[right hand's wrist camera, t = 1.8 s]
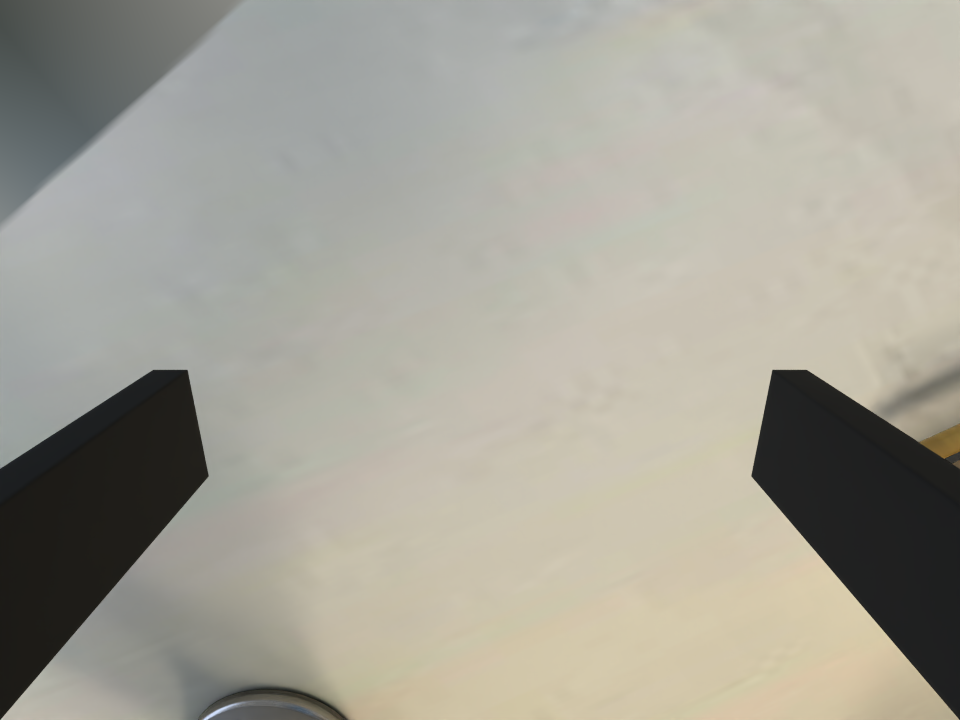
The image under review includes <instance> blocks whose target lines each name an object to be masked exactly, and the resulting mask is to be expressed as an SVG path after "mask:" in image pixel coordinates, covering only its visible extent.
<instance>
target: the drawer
mask: <svg viewBox="0 0 960 720" xmlns="http://www.w3.org/2000/svg"><path fill="white" fill-rule="evenodd" d="M919 443H921V444H922V445H924V446H925V447H927V448H928V449H930V450H931V451H933V452H934V453H936V454H938V455H939V456H941V457H942V458H944V459H945V458H947V457H949V456H951V455H953V454H956V453H958V452H960V424H958V425H956V426H953V427H951V428H949V429H947V430H945V431H943V432H940V433H938V434H936V435H934V436H932V437H930V438H927V439H925V440H923V441H921V442H919ZM953 465H955V466H956V467H958V468H959V469H960V460H959V461H957V462H955V463H953Z"/></svg>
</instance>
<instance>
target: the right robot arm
mask: <svg viewBox="0 0 960 720" xmlns="http://www.w3.org/2000/svg"><path fill="white" fill-rule="evenodd" d="M207 478H208V471H207V466H206V461H205V456H204V451H203V446H202V441H201V435H200V430H199V425H198V420H197V415H196V410H195V405H194V400H193V395H192V390H191V385H190V380H189V375H188V370H152V371H151V372H149V373H148V374H146V375H145V376H143V377H142V378H140V379H139V380H137V381H135V382H134V383H132V384H131V385H129V386H128V387H126V388H125V389H123V390H122V391H120V392H118V393H117V394H115V395H114V396H112V397H111V398H109V399H108V400H106V401H104V402H103V403H101V404H100V405H98V406H97V407H95V408H94V409H92V410H91V411H89V412H87V413H86V414H84V415H83V416H81V417H80V418H78V419H77V420H75V421H74V422H72V423H70V424H69V425H67V426H66V427H64V428H63V429H61V430H60V431H58V432H56V433H55V434H53V435H52V436H50V437H49V438H47V439H46V440H44V441H43V442H41V443H39V444H38V445H36V446H35V447H33V448H32V449H30V450H29V451H27V452H26V453H24V454H22V455H21V456H19V457H18V458H16V459H15V460H13V461H12V462H10V463H9V464H7V465H5V466H4V467H2V468H1V469H0V720H1V718H2V717H3V716H4V715H5V714H6V713H7V711H8V710H9V709H10V708H11V707H12V705H13V704H14V703H15V702H16V701H17V700H18V698H19V697H20V696H21V695H22V694H23V693H24V691H25V690H26V689H27V688H28V687H29V686H30V684H31V683H32V682H33V681H34V680H35V679H36V677H37V676H38V675H39V674H40V673H41V672H42V670H43V669H44V668H45V667H46V666H47V665H48V663H49V662H50V661H51V660H52V659H53V658H54V656H55V655H56V654H57V653H58V652H59V651H60V649H61V648H62V647H63V646H64V645H65V644H66V642H67V641H68V640H69V639H70V638H71V637H72V635H73V634H74V633H75V632H76V631H77V629H78V628H79V627H80V626H81V625H82V624H83V622H84V621H85V620H86V619H87V618H88V617H89V615H90V614H91V613H92V612H93V611H94V610H95V608H96V607H97V606H98V605H99V604H100V603H101V601H102V600H103V599H104V598H105V597H106V596H107V594H108V593H109V592H110V591H111V590H112V589H113V587H114V586H115V585H116V584H117V583H118V582H119V580H120V579H121V578H122V577H123V576H124V575H125V573H126V572H127V571H128V570H129V569H130V568H131V566H132V565H133V564H134V563H135V562H136V561H137V559H138V558H139V557H140V556H141V555H142V554H143V552H144V551H145V550H146V549H147V548H148V546H149V545H150V544H151V543H152V542H153V541H154V539H155V538H156V537H157V536H158V535H159V534H160V532H161V531H162V530H163V529H164V528H165V527H166V525H167V524H168V523H169V522H170V521H171V520H172V518H173V517H174V516H175V515H176V514H177V513H178V511H179V510H180V509H181V508H182V507H183V506H184V504H185V503H186V502H187V501H188V500H189V499H190V497H191V496H192V495H193V494H194V493H195V492H196V490H197V489H198V488H199V487H200V486H201V485H202V483H203V482H204V481H205V480H206V479H207ZM752 478H753V479H754V480H755V481H756V482H757V483H758V485H759V486H760V487H761V488H762V489H763V490H764V492H765V493H766V494H767V495H768V496H769V497H770V499H771V500H772V501H773V502H774V503H775V504H776V506H777V507H778V508H779V509H780V510H781V511H782V513H783V514H784V515H785V516H786V517H787V518H788V520H789V521H790V522H791V523H792V524H793V525H794V527H795V528H796V529H797V530H798V531H799V532H800V534H801V535H802V536H803V537H804V538H805V539H806V541H807V542H808V543H809V544H810V545H811V546H812V548H813V549H814V550H815V551H816V552H817V554H818V555H819V556H820V557H821V558H822V559H823V561H824V562H825V563H826V564H827V565H828V566H829V568H830V569H831V570H832V571H833V572H834V573H835V575H836V576H837V577H838V578H839V579H840V580H841V582H842V583H843V584H844V585H845V586H846V587H847V589H848V590H849V591H850V592H851V593H852V594H853V596H854V597H855V598H856V599H857V600H858V601H859V603H860V604H861V605H862V606H863V607H864V608H865V610H866V611H867V612H868V613H869V614H870V615H871V617H872V618H873V619H874V620H875V621H876V622H877V624H878V625H879V626H880V627H881V628H882V629H883V631H884V632H885V633H886V634H887V635H888V637H889V638H890V639H891V640H892V641H893V642H894V644H895V645H896V646H897V647H898V648H899V649H900V651H901V652H902V653H903V654H904V655H905V656H906V658H907V659H908V660H909V661H910V662H911V663H912V665H913V666H914V667H915V668H916V669H917V670H918V672H919V673H920V674H921V675H922V676H923V677H924V679H925V680H926V681H927V682H928V683H929V684H930V686H931V687H932V688H933V689H934V690H935V691H936V693H937V694H938V695H939V696H940V697H941V698H942V700H943V701H944V702H945V703H946V704H947V705H948V707H949V708H950V709H951V710H952V711H953V713H954V714H955V715H956V716H957V717H958V718H959V720H960V469H959V468H958V467H956V466H955V465H953V464H951V463H950V462H948V461H947V460H945V459H944V458H942V457H941V456H939V455H938V454H936V453H934V452H933V451H931V450H930V449H928V448H927V447H925V446H924V445H922V444H921V443H919V442H917V441H916V440H914V439H913V438H911V437H910V436H908V435H907V434H905V433H904V432H902V431H900V430H899V429H897V428H896V427H894V426H893V425H891V424H890V423H888V422H886V421H885V420H883V419H882V418H880V417H879V416H877V415H876V414H874V413H873V412H871V411H869V410H868V409H866V408H865V407H863V406H862V405H860V404H859V403H857V402H856V401H854V400H852V399H851V398H849V397H848V396H846V395H845V394H843V393H842V392H840V391H838V390H837V389H835V388H834V387H832V386H831V385H829V384H828V383H826V382H825V381H823V380H821V379H820V378H818V377H817V376H815V375H814V374H812V373H811V372H809V371H808V370H772V375H771V380H770V385H769V390H768V395H767V400H766V405H765V410H764V415H763V420H762V425H761V430H760V435H759V441H758V446H757V451H756V456H755V461H754V466H753V471H752ZM198 720H344V719H343V718H342V717H341V716H340V715H339V714H338V713H337V712H335V711H334V710H333V709H331V708H330V707H328V706H326V705H325V704H323V703H321V702H319V701H317V700H314V699H312V698H310V697H307V696H304V695H301V694H297V693H293V692H288V691H281V690H268V689H266V690H250V691H245V692H240V693H236V694H233V695H230V696H227V697H225V698H223V699H221V700H219V701H217V702H215V703H214V704H212V705H211V706H210V707H209V708H207V709H206V710H205V711H204V712H203V713H202V715H201V716H200V717H199V719H198Z"/></svg>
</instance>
